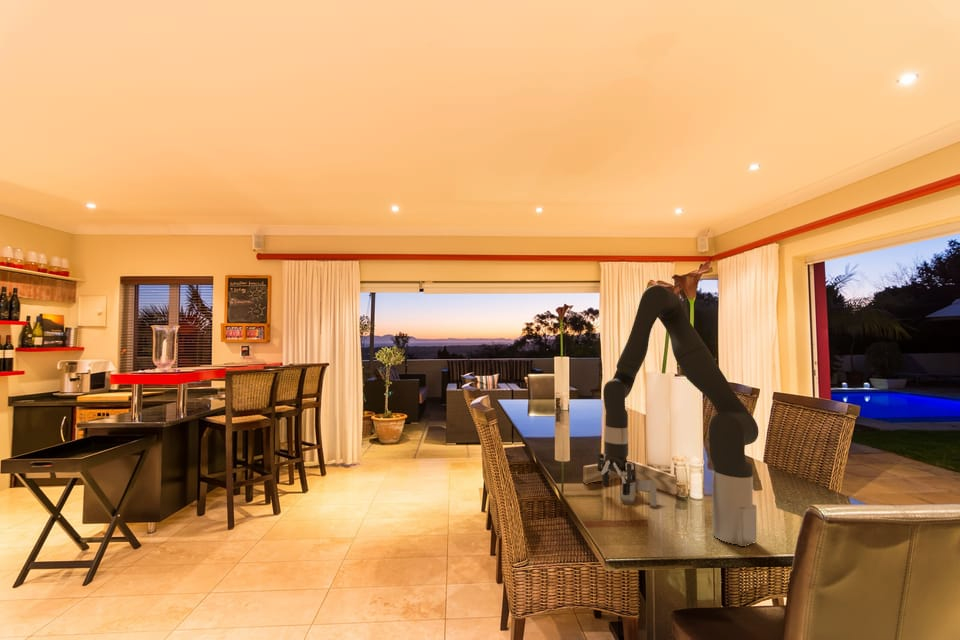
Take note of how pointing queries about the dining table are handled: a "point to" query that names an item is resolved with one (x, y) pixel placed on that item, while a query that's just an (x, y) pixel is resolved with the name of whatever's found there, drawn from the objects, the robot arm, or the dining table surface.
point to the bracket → (640, 486)
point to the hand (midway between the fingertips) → (615, 490)
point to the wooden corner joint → (642, 472)
